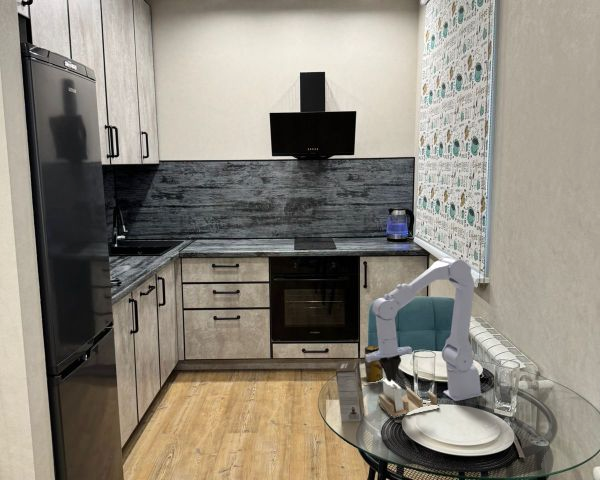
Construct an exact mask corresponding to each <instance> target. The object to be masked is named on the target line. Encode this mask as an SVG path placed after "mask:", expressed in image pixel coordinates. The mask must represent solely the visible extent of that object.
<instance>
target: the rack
mask: <svg viewBox="0 0 600 480" xmlns="http://www.w3.org/2000/svg"><path fill="white" fill-rule="evenodd" d="M405 391H406V394H404V395H402V398H403V408H404V410H403V411H398V412H396V411H394V405H393V404H392V403H391V402H390V401H388V400H387V399H386V398H385V397H384V394H382V393H380V394H378V399H379V400H377V404H378V403H379V404H380V405H381V406H382V407H383V408H384V409H385V410H386V411H387V412H388V413H389V414H390V415H392V416H397V415H402V414H406V413H408V412H410V411H412V410H414V409H417V408H420V407H424V406H428V405H437V404H438V398H437V395H436V394H435V393H433V392H432V393H428V394H429V399H430V401H431V402H430V403H426V404H423V400H422V398H420V397H419V396H418V395H417V394H415V393H416V392H414V391H413V390H412V389H410V388H406V390H405ZM379 404H378V405H379ZM380 405H379V406H380ZM381 406H380V407H381ZM382 407H381V408H382ZM383 408H382V409H383ZM384 409H383V410H384ZM385 410H384V411H385ZM386 411H385V412H386ZM387 412H386V413H387ZM388 413H387V414H388ZM389 414H388V415H389ZM390 415H389V416H390Z"/></svg>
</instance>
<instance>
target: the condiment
mask: <svg viewBox="0 0 600 480" xmlns="http://www.w3.org/2000/svg"><path fill="white" fill-rule="evenodd" d="M376 351H379V345H367V346H366V347H364V357H363V358H364V367H365V368H364V369H365V376H363V377H361V383H362V385H364V386H369V385H372V384H371V383H368V382H376V381H379V380H381V379H382V378H383V377H384V370H383V368H382V366H381V364H380V362H379V361H378V360H374V361H371V362H367V361H366V358H365V355H366V354H370V353H373V352H376Z"/></svg>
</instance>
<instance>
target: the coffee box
mask: <svg viewBox="0 0 600 480" xmlns="http://www.w3.org/2000/svg"><path fill="white" fill-rule="evenodd" d="M335 376H336V386H337V392H338V393H337V394H338V406H339V413H340V420H341V422H343V423H344V422H361V421H363V420H362V419H363V415H364V412H365V411H364V410H365V405H364V404H365V402H364V394H363V383H362V382H361V376H362V375H361V365H360V360H357V359H356V360H355V359H354V360H340V361H338V365H337V368H336V369H335Z"/></svg>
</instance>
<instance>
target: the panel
mask: <svg viewBox="0 0 600 480" xmlns="http://www.w3.org/2000/svg"><path fill="white" fill-rule="evenodd" d="M382 387H383V388H382V389H383V396H384V397H385V398H386V399H387V400H388V401H390V402H391V403H392V404H393V405H394V411H396V412H398V411H403V410H404V408H403V398H402V396H403V389H402V387H401V386H400V385H398V383H396V382H395V381H393V380H392V379H391V382H389V381H388V380H387V378H385V380H383V382H382Z"/></svg>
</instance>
